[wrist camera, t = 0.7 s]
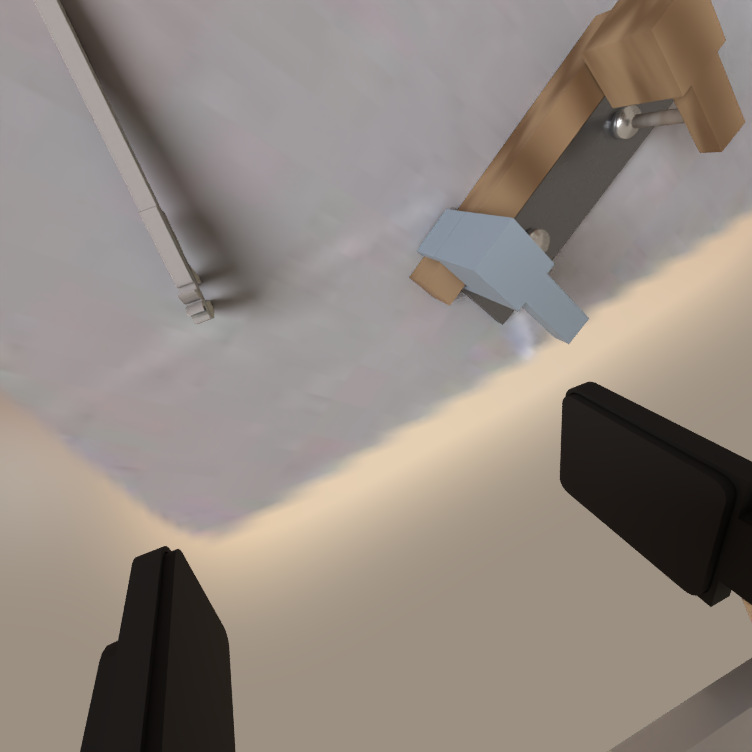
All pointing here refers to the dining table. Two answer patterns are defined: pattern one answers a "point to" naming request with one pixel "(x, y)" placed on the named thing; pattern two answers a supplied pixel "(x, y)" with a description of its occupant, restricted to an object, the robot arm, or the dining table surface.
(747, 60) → the dining table surface
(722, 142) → the beam
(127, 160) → the caliper
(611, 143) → the bolt plate
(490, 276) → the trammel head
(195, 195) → the dining table surface
